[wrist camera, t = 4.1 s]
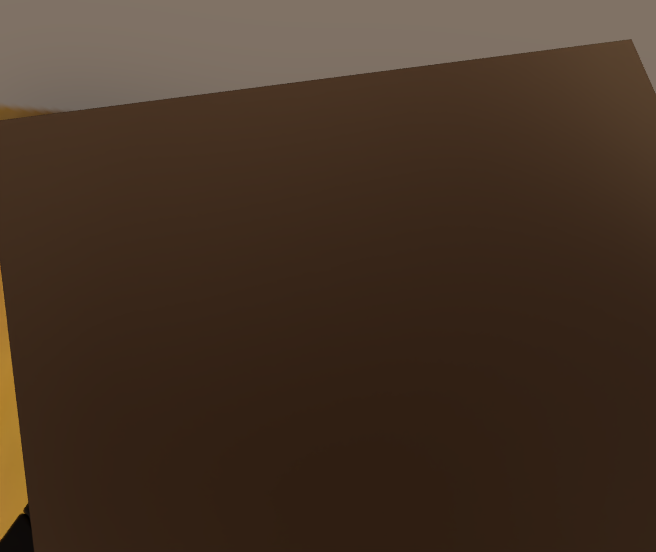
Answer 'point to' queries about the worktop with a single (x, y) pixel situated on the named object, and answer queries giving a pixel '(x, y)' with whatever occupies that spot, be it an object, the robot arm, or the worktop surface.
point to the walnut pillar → (342, 312)
